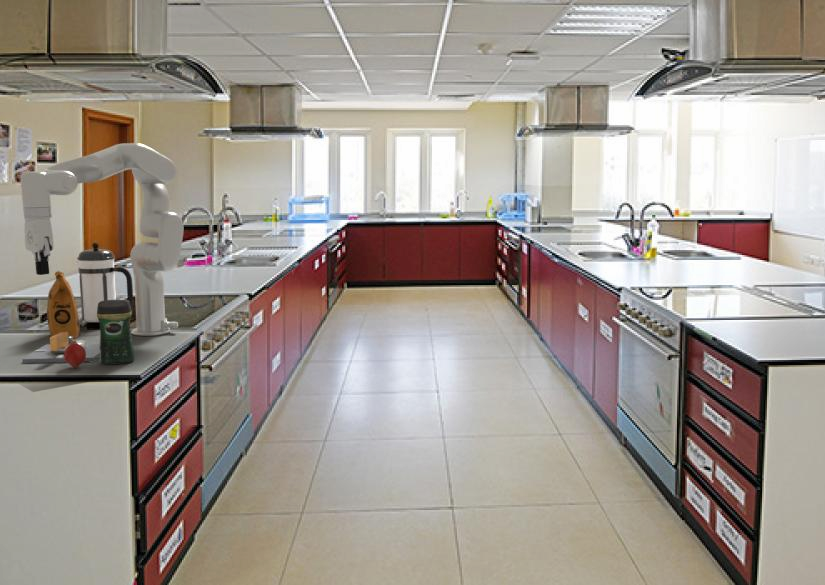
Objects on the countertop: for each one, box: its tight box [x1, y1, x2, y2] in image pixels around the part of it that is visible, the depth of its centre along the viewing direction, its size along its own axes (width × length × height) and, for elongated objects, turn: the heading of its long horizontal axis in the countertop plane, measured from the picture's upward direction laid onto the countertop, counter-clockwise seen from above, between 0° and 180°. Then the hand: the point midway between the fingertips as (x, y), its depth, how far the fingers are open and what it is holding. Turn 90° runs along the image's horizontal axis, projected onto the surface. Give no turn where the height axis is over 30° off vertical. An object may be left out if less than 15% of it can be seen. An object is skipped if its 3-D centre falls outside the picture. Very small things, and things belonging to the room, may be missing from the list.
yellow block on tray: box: [49, 332, 87, 354], centre depth 240 cm, size 15×10×6 cm, turn 1°
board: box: [22, 342, 100, 364], centre depth 243 cm, size 20×20×2 cm
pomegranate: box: [64, 341, 86, 369], centre depth 227 cm, size 6×6×8 cm
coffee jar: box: [97, 299, 135, 365], centre depth 233 cm, size 10×8×19 cm
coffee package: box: [46, 270, 81, 339], centre depth 268 cm, size 10×12×22 cm
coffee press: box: [74, 242, 134, 327], centre depth 291 cm, size 17×16×30 cm
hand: (42, 274), depth 239 cm, fingers closed
